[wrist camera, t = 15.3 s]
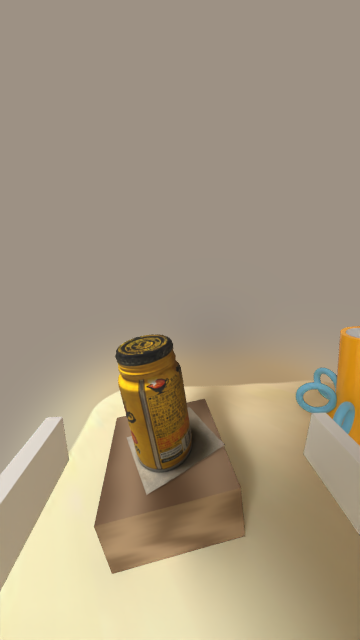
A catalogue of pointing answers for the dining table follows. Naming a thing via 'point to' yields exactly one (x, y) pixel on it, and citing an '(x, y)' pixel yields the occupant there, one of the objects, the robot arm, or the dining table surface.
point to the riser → (166, 505)
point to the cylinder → (340, 386)
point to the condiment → (159, 412)
